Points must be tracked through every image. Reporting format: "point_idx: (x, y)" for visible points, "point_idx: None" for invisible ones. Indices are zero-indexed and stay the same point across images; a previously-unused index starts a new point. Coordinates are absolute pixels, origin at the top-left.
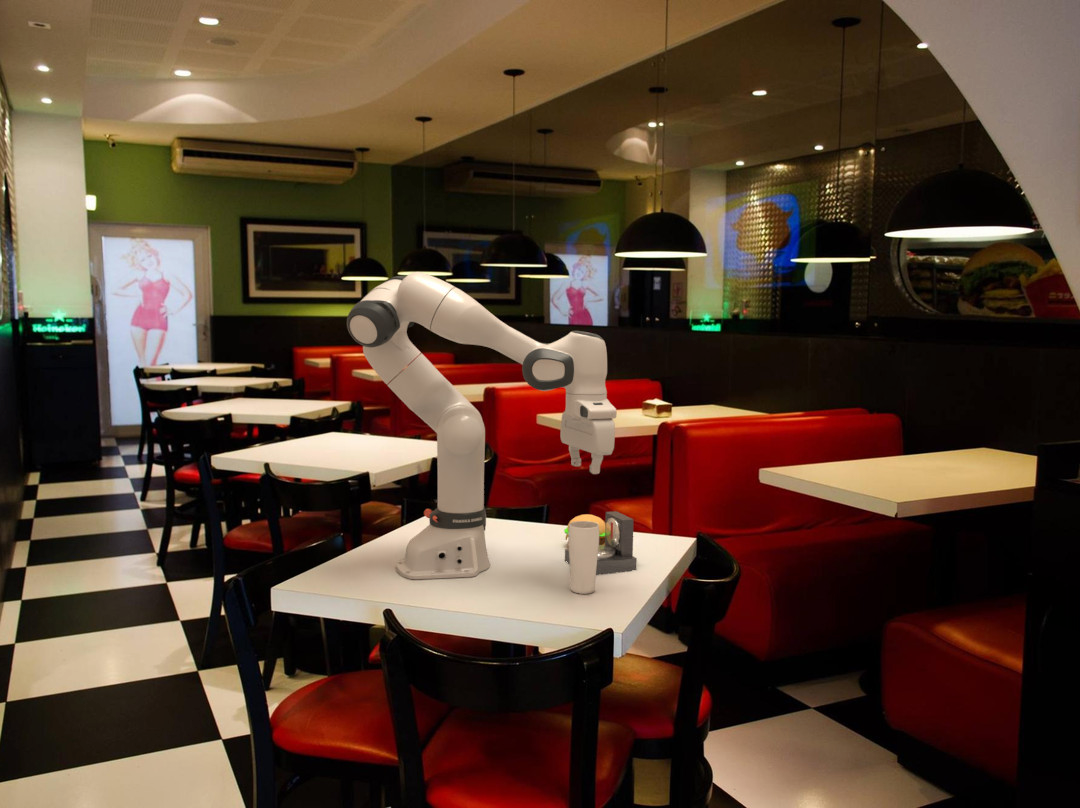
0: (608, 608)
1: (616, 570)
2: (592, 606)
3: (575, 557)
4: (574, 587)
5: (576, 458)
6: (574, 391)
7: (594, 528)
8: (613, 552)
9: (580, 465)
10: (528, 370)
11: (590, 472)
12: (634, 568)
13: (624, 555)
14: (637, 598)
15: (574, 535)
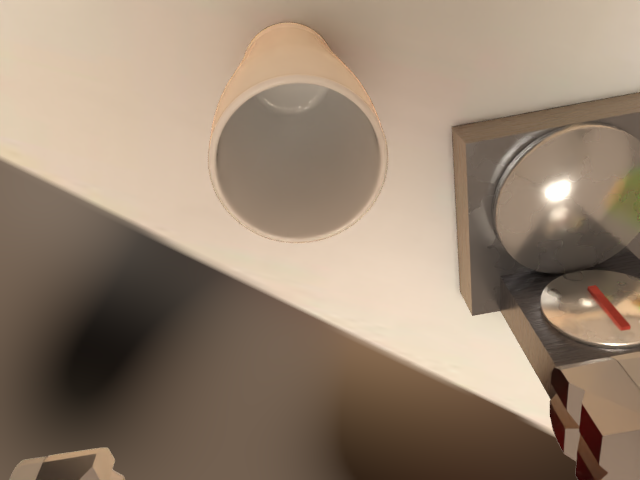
0: (91, 109)
1: (458, 234)
2: (113, 59)
3: (244, 59)
4: (263, 32)
5: (619, 464)
6: None
7: (222, 204)
8: (522, 261)
9: (553, 426)
10: None
11: (91, 449)
12: (461, 289)
13: (502, 288)
14: (189, 225)
15: (239, 81)
